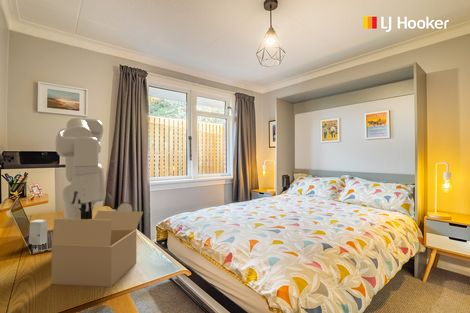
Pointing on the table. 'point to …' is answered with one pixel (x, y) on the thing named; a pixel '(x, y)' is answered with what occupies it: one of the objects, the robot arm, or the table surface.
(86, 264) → the carton
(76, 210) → the robot arm
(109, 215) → the back flap
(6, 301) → the table surface
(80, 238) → the front flap
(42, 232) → the skincare box
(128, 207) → the magnifying glass
